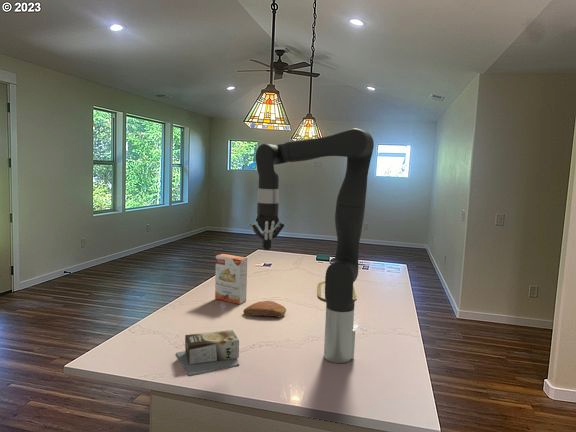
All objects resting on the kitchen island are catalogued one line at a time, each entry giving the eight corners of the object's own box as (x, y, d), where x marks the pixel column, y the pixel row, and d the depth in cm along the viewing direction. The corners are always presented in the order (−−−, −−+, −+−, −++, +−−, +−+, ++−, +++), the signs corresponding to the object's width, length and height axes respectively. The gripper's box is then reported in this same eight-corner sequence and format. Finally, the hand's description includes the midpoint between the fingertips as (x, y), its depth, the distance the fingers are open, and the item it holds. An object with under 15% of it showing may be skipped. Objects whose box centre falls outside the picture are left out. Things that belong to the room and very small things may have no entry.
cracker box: (214, 299, 196) (215, 255, 194) (222, 296, 201) (222, 253, 199) (239, 304, 190) (240, 259, 187) (246, 301, 195) (247, 257, 192)
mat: (222, 345, 147) (222, 344, 147) (239, 365, 133) (239, 364, 133) (176, 353, 139) (176, 352, 139) (189, 375, 125) (189, 374, 125)
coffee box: (239, 339, 136) (189, 345, 130) (239, 358, 137) (189, 365, 131) (232, 329, 144) (184, 334, 138) (232, 346, 145) (184, 353, 139)
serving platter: (317, 303, 198) (317, 299, 197) (317, 282, 232) (317, 279, 232) (357, 305, 196) (358, 302, 196) (352, 284, 231) (352, 281, 231)
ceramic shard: (267, 311, 168) (241, 307, 178) (270, 326, 169) (244, 322, 179) (290, 298, 179) (264, 295, 189) (292, 312, 180) (267, 309, 190)
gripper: (255, 202, 142) (253, 253, 144) (289, 202, 148) (287, 250, 150) (246, 200, 148) (245, 248, 151) (279, 200, 155) (278, 246, 157)
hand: (266, 249), depth 150 cm, fingers closed
